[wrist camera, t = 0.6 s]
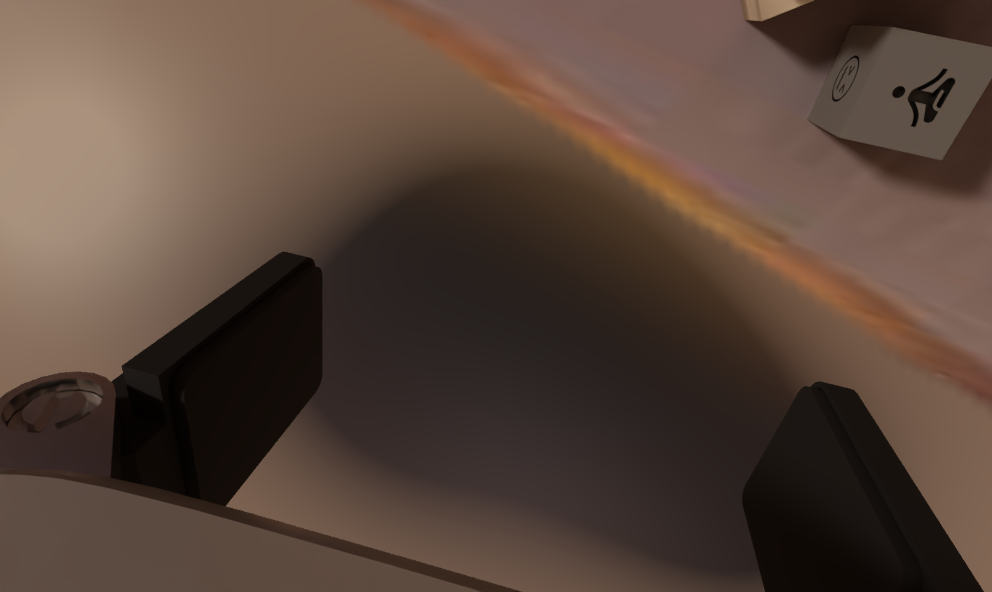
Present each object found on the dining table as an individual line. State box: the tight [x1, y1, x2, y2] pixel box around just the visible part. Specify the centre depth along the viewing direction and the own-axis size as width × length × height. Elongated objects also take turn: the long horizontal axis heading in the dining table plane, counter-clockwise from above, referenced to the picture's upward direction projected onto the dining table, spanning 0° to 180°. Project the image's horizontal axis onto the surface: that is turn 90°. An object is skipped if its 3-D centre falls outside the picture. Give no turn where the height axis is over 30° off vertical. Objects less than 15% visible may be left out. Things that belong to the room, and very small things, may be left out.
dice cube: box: [807, 25, 992, 160], centre depth 27 cm, size 5×5×5 cm
